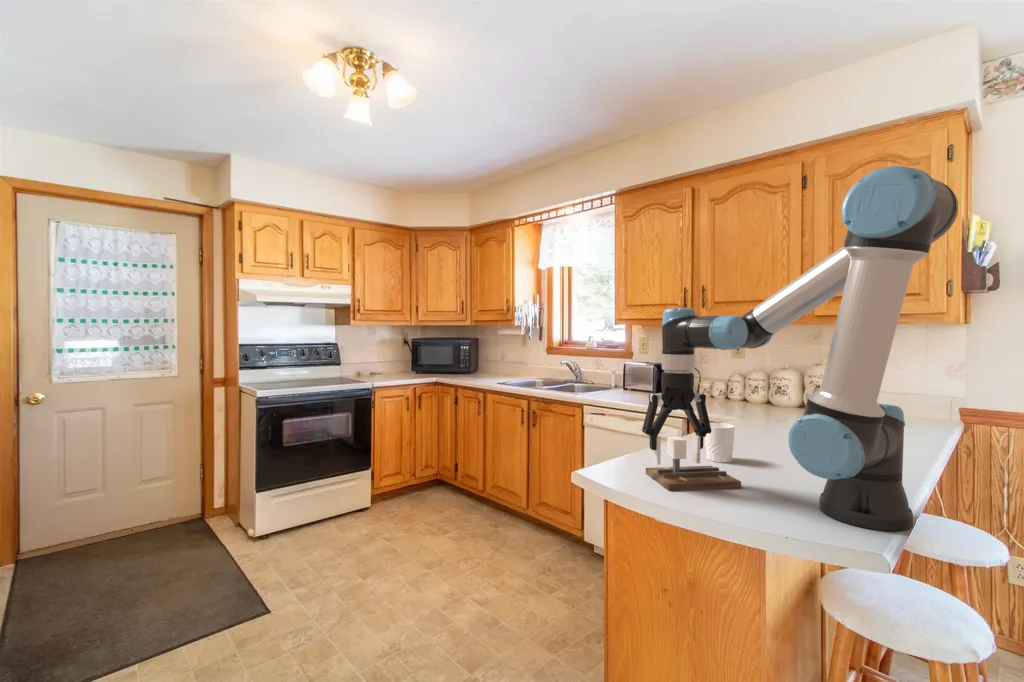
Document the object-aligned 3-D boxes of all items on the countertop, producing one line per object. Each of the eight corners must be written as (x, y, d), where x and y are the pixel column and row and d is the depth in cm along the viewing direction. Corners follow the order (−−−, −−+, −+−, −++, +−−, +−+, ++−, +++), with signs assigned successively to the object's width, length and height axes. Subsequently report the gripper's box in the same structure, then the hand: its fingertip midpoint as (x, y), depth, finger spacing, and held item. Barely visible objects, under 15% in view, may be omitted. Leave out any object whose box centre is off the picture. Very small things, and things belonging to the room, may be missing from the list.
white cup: (728, 456, 140) (728, 422, 140) (738, 464, 132) (739, 428, 132) (700, 455, 141) (701, 422, 140) (708, 463, 133) (709, 427, 133)
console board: (741, 487, 112) (741, 477, 112) (668, 490, 110) (668, 479, 110) (711, 471, 125) (711, 462, 125) (645, 473, 123) (645, 464, 122)
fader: (685, 475, 115) (686, 440, 115) (674, 475, 114) (674, 440, 114) (678, 470, 119) (678, 436, 119) (666, 470, 118) (667, 436, 118)
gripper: (711, 370, 121) (710, 457, 122) (628, 370, 118) (627, 459, 119) (728, 372, 114) (727, 465, 114) (640, 373, 111) (639, 468, 111)
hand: (676, 462), depth 117 cm, fingers open, 9 cm apart
